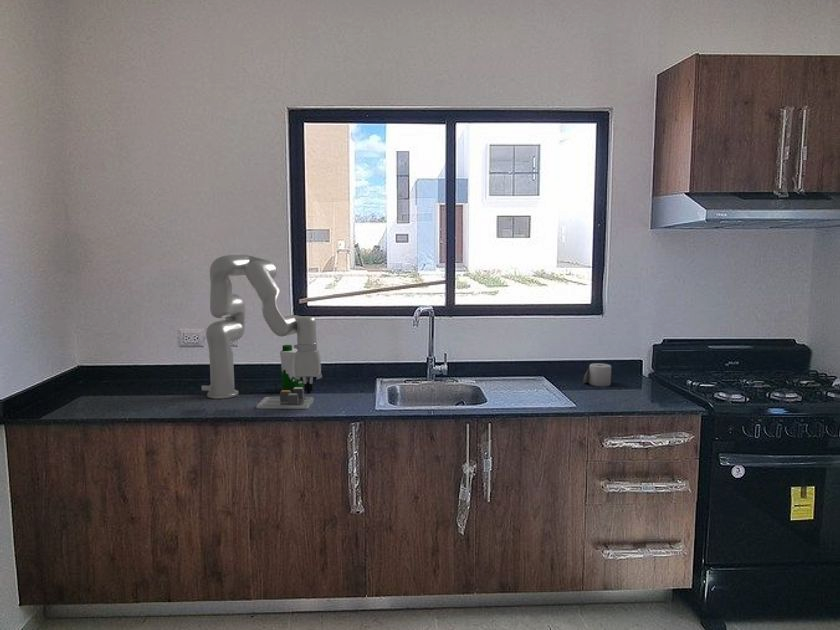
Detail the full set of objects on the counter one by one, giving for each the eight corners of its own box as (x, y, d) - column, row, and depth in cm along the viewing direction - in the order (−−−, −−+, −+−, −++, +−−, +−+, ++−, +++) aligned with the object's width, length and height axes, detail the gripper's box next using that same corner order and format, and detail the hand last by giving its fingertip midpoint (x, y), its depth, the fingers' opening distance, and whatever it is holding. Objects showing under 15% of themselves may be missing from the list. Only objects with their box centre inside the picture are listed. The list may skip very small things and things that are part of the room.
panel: (256, 408, 244) (256, 404, 244) (265, 399, 257) (265, 396, 257) (307, 408, 244) (307, 405, 243) (313, 400, 257) (313, 396, 256)
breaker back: (292, 398, 254) (292, 388, 253) (294, 396, 256) (293, 387, 256) (302, 398, 254) (302, 388, 253) (303, 396, 256) (303, 387, 255)
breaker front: (287, 404, 244) (286, 394, 244) (288, 403, 246) (288, 393, 246) (297, 404, 244) (297, 394, 244) (298, 403, 246) (298, 393, 246)
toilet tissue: (578, 383, 285) (578, 365, 284) (601, 380, 290) (601, 362, 289) (591, 387, 277) (592, 368, 276) (614, 384, 282) (615, 366, 281)
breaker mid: (280, 401, 249) (279, 391, 249) (281, 399, 251) (281, 390, 251) (290, 401, 249) (289, 391, 248) (291, 399, 251) (291, 390, 251)
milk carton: (287, 388, 277) (286, 343, 274) (306, 389, 275) (305, 344, 273) (279, 393, 268) (277, 347, 266) (298, 394, 267) (297, 347, 264)
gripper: (286, 349, 244) (288, 395, 246) (324, 349, 243) (326, 395, 245) (290, 346, 251) (292, 391, 253) (327, 345, 251) (329, 390, 253)
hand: (309, 393), depth 249 cm, fingers closed
